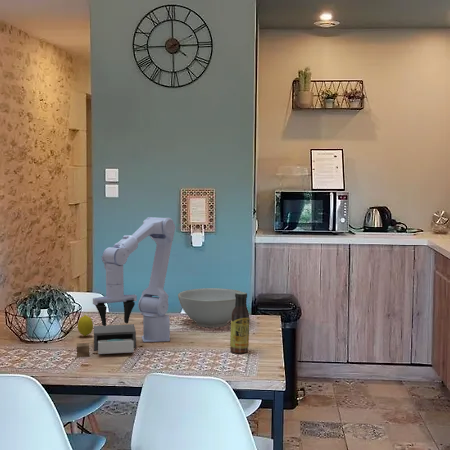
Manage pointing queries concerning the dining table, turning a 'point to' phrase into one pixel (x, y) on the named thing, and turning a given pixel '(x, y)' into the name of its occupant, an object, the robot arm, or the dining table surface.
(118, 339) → the teal round puck
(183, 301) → the decorative bowl
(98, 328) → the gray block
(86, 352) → the walnut block
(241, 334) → the sauce bottle
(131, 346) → the tray
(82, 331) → the lemon
